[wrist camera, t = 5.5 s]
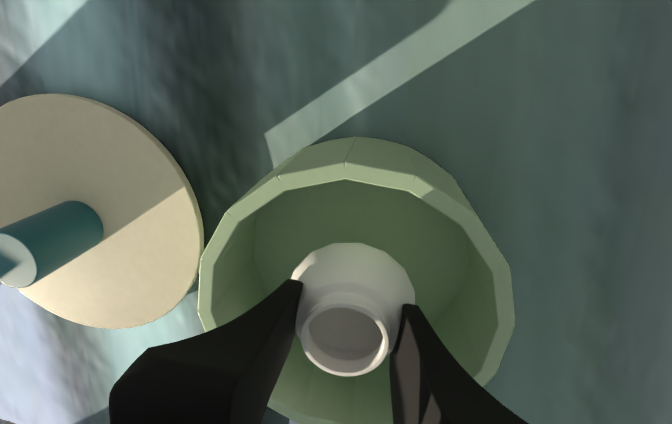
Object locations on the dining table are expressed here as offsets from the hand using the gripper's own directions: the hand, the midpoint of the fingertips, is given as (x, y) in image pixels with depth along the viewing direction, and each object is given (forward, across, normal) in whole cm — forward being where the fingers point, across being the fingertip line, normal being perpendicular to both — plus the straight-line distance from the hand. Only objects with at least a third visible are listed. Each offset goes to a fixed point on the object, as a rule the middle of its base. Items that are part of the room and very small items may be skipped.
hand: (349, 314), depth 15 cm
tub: (+5, 0, 0) cm, 5 cm away
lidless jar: (+2, 0, 0) cm, 2 cm away
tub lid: (+5, +14, +1) cm, 15 cm away
